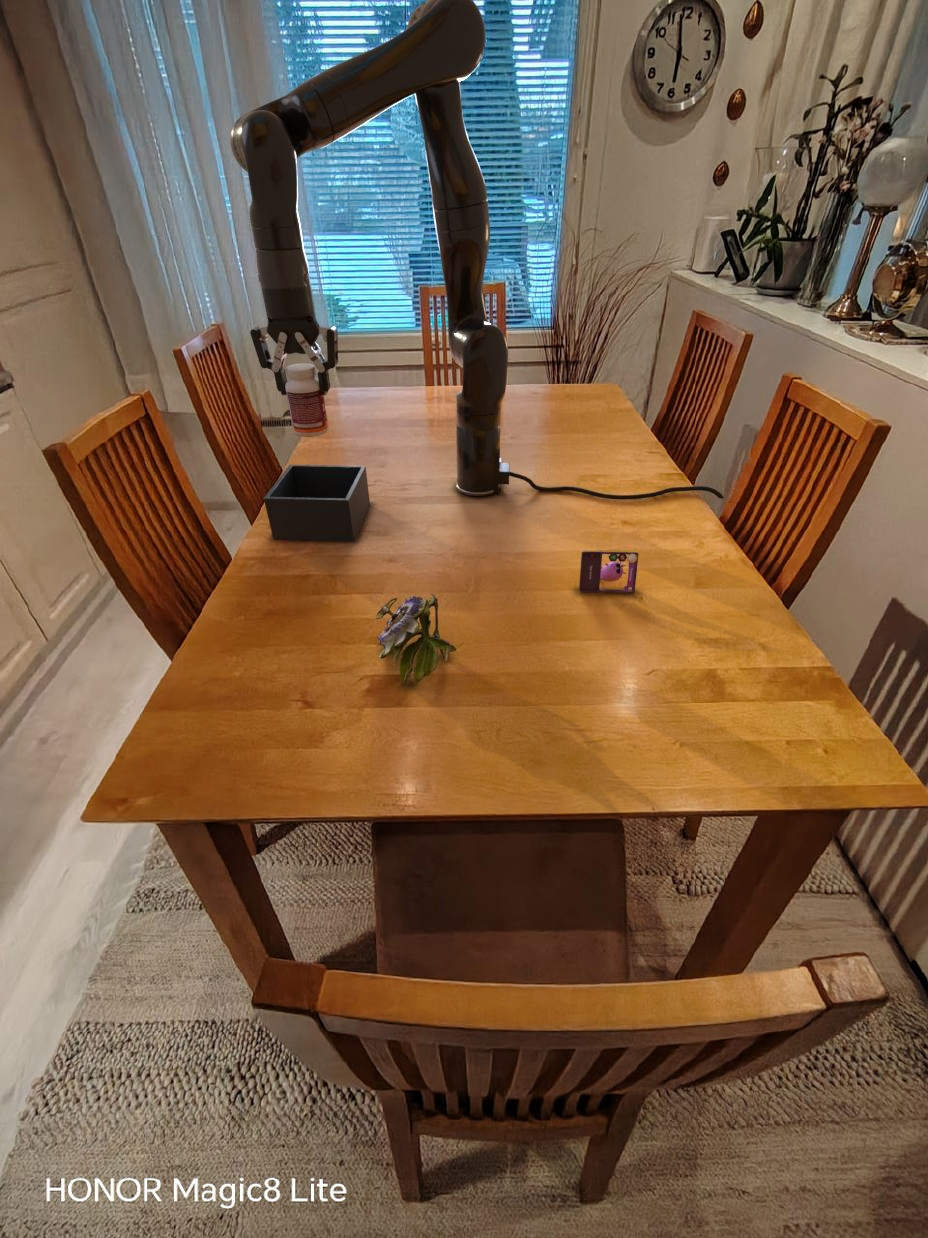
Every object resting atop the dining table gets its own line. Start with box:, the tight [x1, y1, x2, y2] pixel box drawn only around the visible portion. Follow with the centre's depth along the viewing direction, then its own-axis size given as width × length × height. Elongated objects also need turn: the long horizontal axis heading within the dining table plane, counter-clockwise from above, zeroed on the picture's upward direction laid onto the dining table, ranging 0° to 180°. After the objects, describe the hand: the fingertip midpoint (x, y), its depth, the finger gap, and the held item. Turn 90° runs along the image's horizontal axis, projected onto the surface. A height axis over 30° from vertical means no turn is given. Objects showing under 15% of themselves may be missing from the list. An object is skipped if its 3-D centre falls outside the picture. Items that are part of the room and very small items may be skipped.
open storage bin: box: [263, 464, 371, 543], centre depth 115 cm, size 16×16×8 cm
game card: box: [578, 550, 639, 594], centre depth 97 cm, size 7×5×9 cm
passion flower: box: [375, 593, 457, 686], centre depth 82 cm, size 11×11×12 cm
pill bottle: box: [285, 362, 329, 438], centre depth 101 cm, size 6×6×11 cm
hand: (304, 393), depth 101 cm, fingers closed on pill bottle, 6 cm apart
